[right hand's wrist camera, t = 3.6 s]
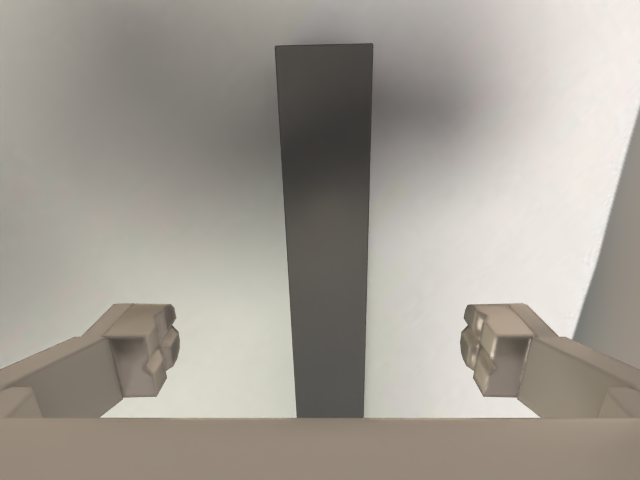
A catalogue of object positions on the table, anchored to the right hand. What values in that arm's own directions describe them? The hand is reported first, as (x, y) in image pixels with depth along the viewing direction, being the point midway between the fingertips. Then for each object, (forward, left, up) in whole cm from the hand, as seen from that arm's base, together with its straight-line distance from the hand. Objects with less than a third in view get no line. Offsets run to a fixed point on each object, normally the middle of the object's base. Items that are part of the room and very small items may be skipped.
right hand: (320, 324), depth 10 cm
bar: (+23, -16, -16) cm, 32 cm away
